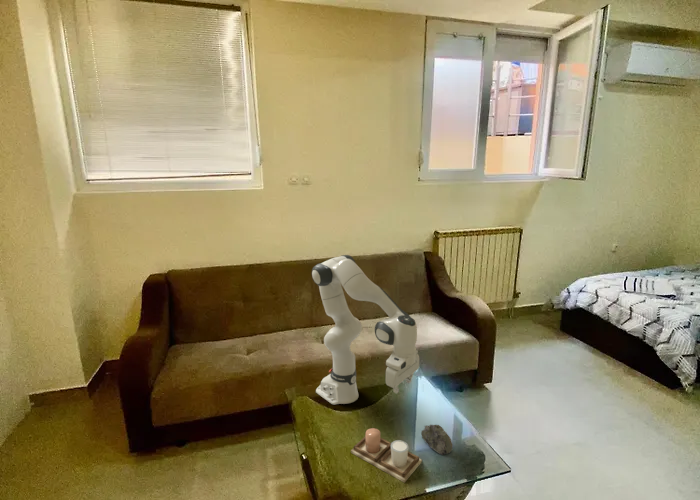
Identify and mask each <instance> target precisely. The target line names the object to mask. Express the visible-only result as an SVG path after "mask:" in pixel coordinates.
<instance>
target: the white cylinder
mask: <svg viewBox="0 0 700 500" xmlns="http://www.w3.org/2000/svg"><path fill="white" fill-rule="evenodd" d="M390 443H391V456H392V463H393V465H395V466H397V467H403V466H405V465H406V463H407V455H408V452H409V444H408V443H407V442H406V441H405V440H400V439H397V440H396V439H395V440H394V441H392V442H390Z"/></svg>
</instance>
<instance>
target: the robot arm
mask: <svg viewBox="0 0 700 500" xmlns="http://www.w3.org/2000/svg"><path fill="white" fill-rule="evenodd" d="M311 278H312V281H313V282H314V284H316V285H317V286H318V289H319V294H320V297H321V301H322V305H323V308H324V311H325V314H326V316H328V317H330V318H332V320H333V322H334V323H335V325H334V326H333V327H332V328H330V329H329V330H328V331H327V332H326V334H325V335H324V337H323V343H324V346H325V347H326V348H327V350H328V351H330V352H331V357H332V367H331V368H330V369H329V370H328V373H329V374H327V376H324V377H323V378H322V380H321V381H320V384H319V386H318V387H317V388H316V389H315V394H317V395H319V396H320V397H322V399H324V400H326V401H327V402H329V404H331V405H339V404H341V405H342V404H343V405H345V404H351V403H354V402H356V401H357V400H358V398H359V392H358V386H357V369H356V355H355V353H354V352H353V351H352V350H351V345H352V342H354V341H355V340H356V339H357V338H358V337H359V336H360V334H361V332H362V330H363V325H362V322H361V321H360V320H359V319H358V318H357V317H356V316H354V315H353V314H352V312H351V310H350V307H349V305H348V303H347V302H348V301H347V300H346V297H345V294H344V293H345V292H346V293H347V295H348V296H349V297H350V298H351V299H353V300H356V301H360V302H363V301H364V302H370V303H374V304H377V305H378V306H379V307H380V308H381V310H382V311H384V313H386V315H387V316H388V317H386V318H383V319H381V320H379V321H378V322H376V323H375V326H374V335H375V338H376V340H378V341H379V342H380V343H382V344H384V345H389V346H393V351H392V352H391V354H390V356H389V357H388V358H387V359H386V360H385V366H387V367H386V369H385V384H386V386H388V387H390V388H392V389H393V390H392V391H393V393H394V394H398V393H399V392H400V387H399V385H400V384H401V383H402V382H404V381H405V382H406V384H411V383H412V380H413V379H412V378H413V376H414V373H415V372H417V371H418V370H419V368H420V356H419V354H418V353H419V350H418V349H417V348H416V343H417V341H418V340H417V338H418V327H417V323H416V322H417V321H416V320H415V319H414V318H413V317H412V316H411V315H410V314H408V313H407V312H406V311H405V310H403V309H402V308H401V307H400V306H399V305H398V304H397V303H396V302H395V301H394V300H393V298H391V297H390V295H389V294H388V293H387V292H386V291H385V290H384V289H383V288H382V287H380V286H379V285H377V284H376V283H375V282H373V281H372V280H371V279H370V278H368V276H367V275H366V274H365V273H364V271H363V270H362V268H361V267H359V266H358V264H357V263H356V261H355V259H354V258H353V257H352V256H351V255H349V254H343V255H340V256H335V257H332V258H328V259H327V260H325V261H323V262H321V263H316V265H314V266H313V267H312V269H311ZM343 289H344V290H343ZM344 291H345V292H344Z"/></svg>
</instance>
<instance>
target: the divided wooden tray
mask: <svg viewBox="0 0 700 500" xmlns="http://www.w3.org/2000/svg"><path fill="white" fill-rule="evenodd" d="M391 443H392V442H390V441H388V440H387V439H384V438H382V437H380V451H379V452H378V453H375V454H372V453H369V452H367V451H366V435H364V437H362V438H361V439H360V441H358V442H357V443H355V445H354V446H353V448H352V449H350V453H351V454H353V455H355V456H356V457H357V458H359V459H361V460H363V461H365V462H367V463H369V464H370V465H372V466H374V467H376V468H378V469H379V470H381V471H383V472H385V473H386V474H388V475H389V476H392V477H393V478H395V479H396V480H399V481H401V482H403V483H406V482H407V481H408V479H409V478H410V477H411V475H412V474H413V473H414V472H415V471H416V470H417V468H418V467H419V466H420V465H421V464H422V462H423V459H422V458H420V456H418V455H416V454H414V453H412V452H410V451H408V455H407V463H406V465H405V466H403V467H397V466H395V465H393V463H392V456H391Z"/></svg>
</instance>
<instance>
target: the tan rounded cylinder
mask: <svg viewBox="0 0 700 500" xmlns="http://www.w3.org/2000/svg"><path fill="white" fill-rule="evenodd" d="M365 436H366V451H367V452H369V453H372V454H375V453H378V452H379V451H380V438H381V430H379V429H378V428H373V427H372V428H368V429H367V430H365Z"/></svg>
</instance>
